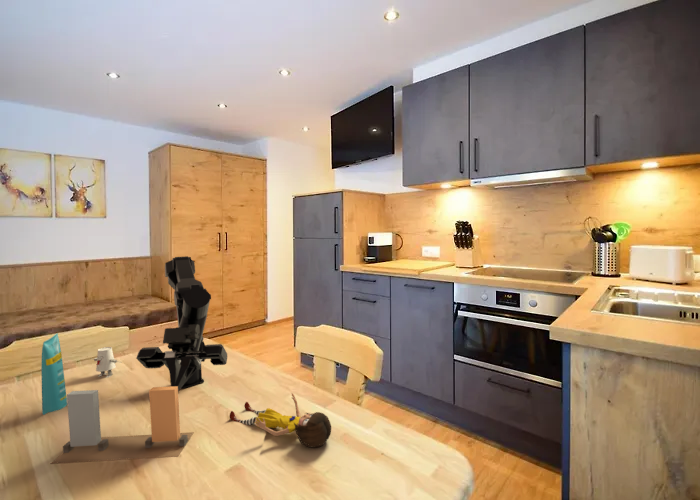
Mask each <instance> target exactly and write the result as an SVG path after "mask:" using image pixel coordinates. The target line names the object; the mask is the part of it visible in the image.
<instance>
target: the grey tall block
mask: <svg viewBox="0 0 700 500" xmlns="http://www.w3.org/2000/svg"><path fill="white" fill-rule="evenodd" d="M66 397H67V415H68V417H67V418H68V430H69V441H70V446H71V447H74V446H91V445H97V444H98V443H99V442H100V441H101V437H102V430H101V420H100V419H101V415H100V402H99V400H100V399H99V389H94V390H93V389H91V390H89V389H88V390H72V391H70V392H69V393H66Z"/></svg>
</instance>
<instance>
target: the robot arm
mask: <svg viewBox="0 0 700 500" xmlns="http://www.w3.org/2000/svg"><path fill="white" fill-rule="evenodd" d="M195 263H196V262H195V261H194V260H193V259H192V258H191V256H188V255H187V256H186V255H185V256H175V257H172V259H170V260H169V261H167V262H165V263H164V264H165V265H164V276H165V278H167V284H168V285H169V286H170V287H171V288H172V289H173V290H174V291H173V301H174V306H176V308H175V309H176V317H177V325H178V326H177V327H168V328H164V331H163V337H162V338H163V339H162V344H168V345H167V348H168V350H166V351H164V352H163V351H162V349H161V348H160V347H159V346H151V347H150V346H149V347H142V348H141V349H140V350H138V353H137V355H136V357H135V359H136V360H137V361H138V362H139V363H140V364H141V365H142V366H143V367H144V368H146V369H160V368H162V367H163V366H165V367H166V368H167V369H168V372H169V379H170V387H171V386H178V393H179V391H181V389H186V388H189V387H193V386H195V385H196V386H197V385H199V384H202V383H205V379H204V378H203V377H202V376H203V375H202V363H204V362H205V361H206V360H210V363H211V364H212V365H213V366H224V365H227V363H228V362H227V361H228V352H227V350H226V348H225V347H224V345H222V343H219V344H218V343H216V344H213V343H212V344H205V342H204V337H203V334H204V331H205V330H204V329H205V326H206V321H207V317H208V312H209V306H210V302H211V300H212V294H211V293H209V291H208V290H207V288H205V287H204V285H203V282H201V281H199V280H197V279H196V278H195V273H196V266H195V265H196V264H195Z"/></svg>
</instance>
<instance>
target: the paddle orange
mask: <svg viewBox="0 0 700 500" xmlns="http://www.w3.org/2000/svg"><path fill="white" fill-rule="evenodd" d="M148 393H149V408H150V409H149V410H150V427H151V429H150V430H151V435H152V442H161V441H177V440H178V439H179V437H180V433H181V425H180V424H181V423H180V405H179V402H180V401H179V392H178V386H171V385H170V386H154V387H152V388H150V389H149V390H148Z"/></svg>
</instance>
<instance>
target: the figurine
mask: <svg viewBox="0 0 700 500" xmlns="http://www.w3.org/2000/svg"><path fill="white" fill-rule="evenodd" d="M291 396H292V397H291V399H292V400H293V402H294V406H295V415H283V414H282V413H280V412H278V411H276V410H275V409H273V408H269V407H268V408H266V409H263V410H255V409H253V408H252V407H251V405H250V404H249V401H245V403H244V407H243V408H244V409H245V410H246V411H247V412H251V413H255V414H256V415H257V416H255V417H254V416H253V417H251V418H248V419H242V420H241V419H239V418H237V416H236V414H235V411H233V410H231V411H230V413H229V420H230V421H233V422H236V423H240V424H243V425H247V426H251V425H253V424H255V425H254V426H256V427H257V428H260V429H262V430H264V431H266V432H268V433H269V434H271V435H273V436H275V437H278V436H282V435H285V434H292V433H293V432H295V433H296V436H297V439H298V442H299V443H301V445H302V446H305V447H307V448H313V449H316V448H317V449H318V448H319V447H322V446H324V445H325V444H326V443H327V441H328V440H329V438H330V436H331V435H332V424H331V421H330V419H329V417H328V416H327V415H326V414H325V413H323V412H319V411H317V412H316V411H315V412H313V413H311V412H305V413H304V415H301V412H300V409H299V406H298V401H297V399H296V396H295V395H294V393H291ZM272 428H273V429H276V428H279V429H280V428H282V430H277V431H276V430H273V429H272Z"/></svg>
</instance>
